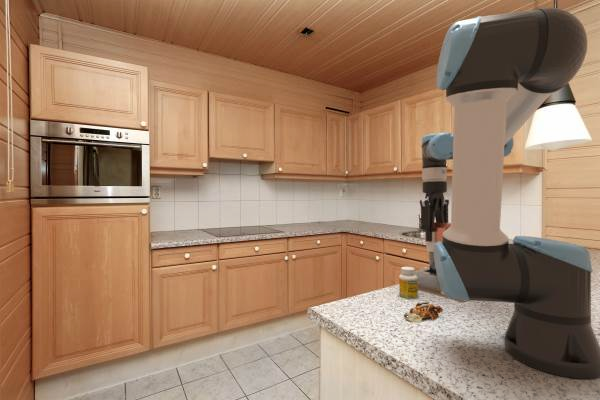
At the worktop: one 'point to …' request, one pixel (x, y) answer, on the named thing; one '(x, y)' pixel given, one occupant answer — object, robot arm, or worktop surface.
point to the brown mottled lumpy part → (423, 312)
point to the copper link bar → (438, 230)
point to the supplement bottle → (408, 283)
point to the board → (438, 294)
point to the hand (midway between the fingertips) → (435, 250)
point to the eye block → (427, 280)
